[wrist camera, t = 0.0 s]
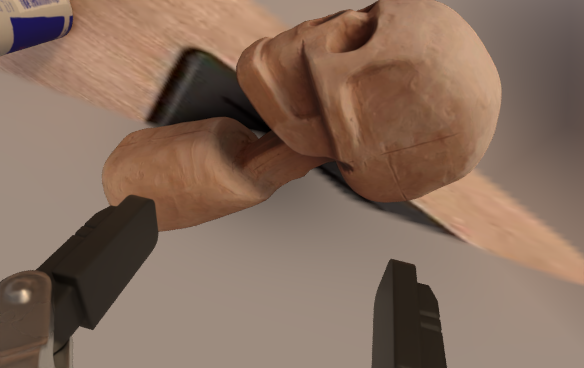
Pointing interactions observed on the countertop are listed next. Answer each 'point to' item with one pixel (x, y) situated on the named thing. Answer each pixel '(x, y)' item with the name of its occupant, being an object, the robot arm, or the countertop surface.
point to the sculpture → (328, 116)
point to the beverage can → (32, 22)
